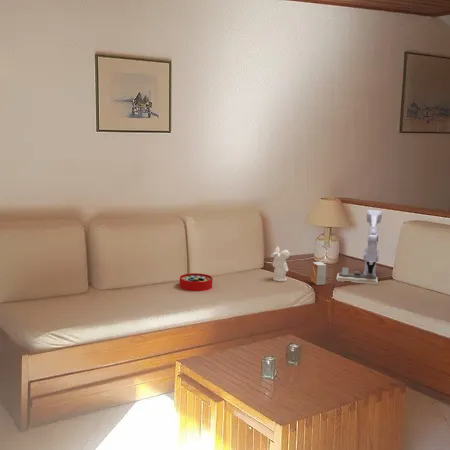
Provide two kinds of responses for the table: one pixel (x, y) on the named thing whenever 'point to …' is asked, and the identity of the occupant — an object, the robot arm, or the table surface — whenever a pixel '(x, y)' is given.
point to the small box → (318, 273)
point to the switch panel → (357, 278)
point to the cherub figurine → (280, 264)
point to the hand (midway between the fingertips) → (370, 273)
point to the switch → (345, 271)
